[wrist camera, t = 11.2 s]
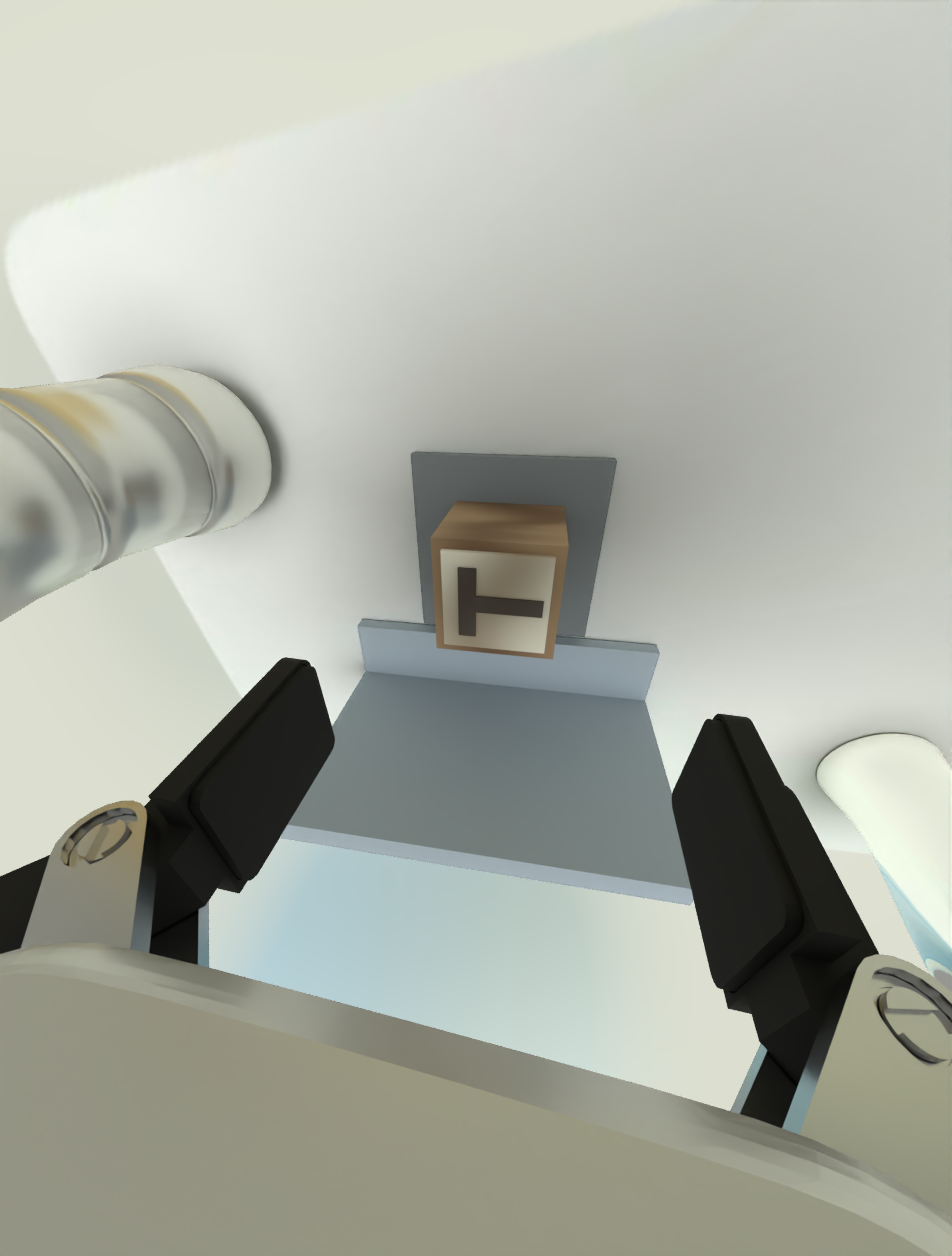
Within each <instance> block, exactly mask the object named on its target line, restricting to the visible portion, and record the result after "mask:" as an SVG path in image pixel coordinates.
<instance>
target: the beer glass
mask: <svg viewBox="0 0 952 1256" xmlns="http://www.w3.org/2000/svg"><path fill="white" fill-rule="evenodd" d="M816 776H817V781H818V784H819V785H820V787H821V788H822V790H823V791H824V792H825V793H826V794H827V796H828V797H829V798H830V799H831V800H832V801H833V802H834V803H835V804H836V805H837V806H838V807H839V808H840V809H841V810H842V811H843V813H844V814H845V815H846V816H847V817H848V818H849V819H850V820H851V822H852V823H853V824H854V825H855V827H856V828H857V830H858V831H859V832H860V834H861V835H862V837H863V838H864V840H865V842H866V843H867V845H868V847H869V848H870V850H871V852H872V854H873V856H874V858H875V860H876V862H877V864H878V866H879V869H880V871H881V873H882V875H883V877H884V880H885V882H886V884H887V886H888V889H889V891H890V893H891V895H892V897H893V900H894V902H895V904H896V906H897V909H898V911H899V913H900V915H901V917H902V920H903V922H904V924H905V926H906V928H907V931H908V933H909V934H910V936H911V938H912V940H913V942H914V944H915V946H916V948H917V950H918V952H919V954H920V956H921V958H922V960H923V962H924V964H925V966H926V968H927V970H928V971H929V973H930V975H931V976H933V977H934V978H935V979H936V980H938V981H939V982H940V983H941V984H942V985H944V986H945V987H946V988H947V989H948V990H950V991H951V992H952V768H951V767H950V765H949V764H948V762H947V761H946V759H945V758H944V756H943V755H942V753H941V752H940V751H939V749H938V748H937V747H936V746H935V745H934V744H932V743H931V742H929V741H927V740H925V739H923V738H920V737H917V736H913V735H908V734H896V733H889V734H878V735H871V736H867V737H863V738H859V739H856V740H853V741H851V742H848V743H846V744H844V745H842V746H840V747H838V748H836V749H835V750H833V751H832V752H831V753H829V754H828V755H827V756H826V757H825V758H824V759H823V760H822V762H821V763H820V765H819V767H818V769H817V775H816Z"/></svg>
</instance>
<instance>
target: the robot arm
mask: <svg viewBox="0 0 952 1256" xmlns="http://www.w3.org/2000/svg"><path fill="white" fill-rule="evenodd" d="M334 744H335V736H334V733H333V729H332V725H331V722H330V718H329V715H328V711H327V708H326V704H325V701H324V697H323V694H322V690H321V687H320V683H319V680H318V676H317V673H316V670H315V668H314V667H311V665H310V663H309V662H308V661H307V660H301V659H293V658H286V657H285V658H282V659H281V660H279V661H278V662H277V663H276V664H275V665H274V666H273V667H272V669H271V670H270V671H269V672H268V673H267V674H266V675H265V676H264V677H263V678H262V679H261V680H260V681H259V682H258V683H257V684H256V685H255V686H254V687H253V688H252V689H251V690H250V691H249V692H248V693H247V694H246V695H245V696H244V698H243V699H242V700H241V701H240V702H239V703H238V704H237V705H236V706H235V707H234V708H233V709H232V710H231V711H230V712H229V713H228V714H227V715H226V716H225V717H224V718H223V719H222V720H221V722H219V723H218V725H217V726H216V727H215V728H214V729H213V730H212V731H211V732H210V733H209V734H208V735H207V736H206V737H205V738H204V739H203V740H202V741H201V742H200V743H199V744H198V745H197V746H196V747H195V748H194V749H193V751H191V752H190V754H189V755H188V756H187V757H186V758H185V759H184V760H183V761H182V762H181V763H180V764H179V765H178V766H177V767H176V768H175V769H174V770H173V771H172V772H171V773H170V775H168V776H167V777H166V778H165V779H164V780H163V782H161V783H160V785H159V786H158V787H157V788H156V789H155V790H154V791H153V792H152V793H151V794H150V795H149V798H150V799H151V800H150V801H149V802H148V803H147V804H146V805H145V806H143V805H142V804H141V803H138V802H135V801H119V802H115V803H112V804H108V805H105V806H103V807H101V808H99V809H97V810H94V811H93V812H91V813H89V814H88V815H86V816H85V817H83V818H81V819H80V820H79V821H77V822H76V823H75V824H74V825H73V826H71V827H70V828H69V829H68V830H67V831H66V832H65V833H64V834H63V836H62V837H61V838H60V839H59V840H58V842H57V843H56V844H55V846H54V848H53V850H52V852H51V854H50V855H49V856H46V857H44V858H42V859H39V860H37V861H35V862H32V863H30V864H28V865H26V866H23V867H21V868H19V869H17V870H14V871H12V872H10V873H7V874H5V875H3V876H0V1256H952V992H951V991H950V990H948V989H947V988H946V987H945V986H944V985H942V984H941V983H940V982H939V981H938V980H936V979H935V978H934V977H933V976H931V975H929V974H928V973H926V972H924V971H923V970H921V969H920V968H918V967H917V966H915V965H913V964H912V963H909V962H906V961H904V960H901V959H899V958H896V957H894V956H888V955H879V953H878V951H877V949H876V947H875V945H874V943H873V941H872V939H871V937H870V936H869V934H868V932H867V930H866V928H865V926H864V924H863V922H862V920H861V918H860V916H859V914H858V913H857V911H856V909H855V907H854V905H853V903H852V901H851V899H850V897H849V895H848V894H847V892H846V890H845V888H844V886H843V884H842V882H841V880H840V878H839V876H838V874H837V873H836V871H835V869H834V867H833V865H832V863H831V861H830V860H829V857H828V855H827V854H826V852H825V850H824V848H823V846H822V844H821V842H820V840H819V838H818V836H817V834H816V833H815V831H814V829H813V827H812V825H811V823H810V821H809V819H808V817H807V815H806V814H805V812H804V810H803V808H802V806H801V804H800V802H799V800H798V798H797V797H796V796H795V794H794V793H793V791H792V790H790V789H789V788H788V787H787V786H785V785H784V783H783V781H782V779H781V777H780V775H779V773H778V771H777V769H776V768H775V766H774V764H773V762H772V760H771V758H770V756H769V754H768V752H767V750H766V748H765V746H764V744H763V742H762V740H761V738H760V736H759V734H758V732H757V730H756V728H755V726H754V724H753V723H752V721H751V720H750V719H749V718H747V717H740V716H733V715H725V714H717V715H715V717H714V718H713V720H712V719H707V720H706V721H705V722H704V724H703V726H702V729H701V731H700V733H699V735H698V737H697V740H696V742H695V744H694V746H693V748H692V751H691V753H690V755H689V757H688V759H687V761H686V764H685V766H684V768H683V770H682V772H681V775H680V777H679V779H678V781H677V783H676V786H675V788H674V790H673V793H672V809H673V813H674V818H675V822H676V826H677V831H678V835H679V839H680V843H681V848H682V852H683V856H684V861H685V865H686V869H687V873H688V878H689V882H690V886H691V891H692V895H693V899H694V903H695V908H696V912H697V916H698V921H699V925H700V929H701V933H702V938H703V942H704V946H705V951H706V955H707V959H708V963H709V968H710V972H711V975H712V978H713V981H714V983H715V985H716V986H717V987H718V988H720V989H723V990H724V994H725V998H726V1002H727V1007H728V1009H733V1010H737V1011H742V1012H745V1013H749V1014H752V1017H753V1021H754V1024H755V1028H756V1031H757V1034H758V1038H759V1041H760V1043H761V1045H760V1046H759V1049H758V1051H757V1053H756V1056H755V1058H754V1060H753V1062H752V1064H751V1066H750V1069H749V1071H748V1073H747V1075H746V1078H745V1080H744V1082H743V1084H742V1087H741V1089H740V1091H739V1093H738V1095H737V1097H736V1100H735V1102H734V1104H733V1106H732V1109H731V1111H727V1110H724V1109H720V1108H717V1107H714V1106H710V1105H707V1104H704V1103H700V1102H697V1101H693V1100H690V1099H687V1098H683V1097H680V1096H676V1095H673V1094H670V1093H666V1092H663V1091H660V1090H656V1089H653V1088H650V1087H646V1086H643V1085H639V1084H636V1083H632V1082H628V1081H625V1080H621V1079H617V1078H614V1077H610V1076H607V1075H603V1074H599V1073H596V1072H592V1071H588V1070H585V1069H581V1068H577V1067H574V1066H570V1065H567V1064H563V1063H559V1062H556V1061H552V1060H549V1059H545V1058H541V1057H538V1056H534V1055H531V1054H527V1053H523V1052H520V1051H516V1050H512V1049H509V1048H505V1047H502V1046H498V1045H494V1044H491V1043H487V1042H483V1041H480V1040H476V1039H472V1038H469V1037H465V1036H461V1035H457V1034H453V1033H450V1032H446V1031H443V1030H439V1029H436V1028H432V1027H428V1026H424V1025H421V1024H417V1023H413V1022H410V1021H406V1020H402V1019H399V1018H395V1017H391V1016H388V1015H383V1014H380V1013H376V1012H373V1011H369V1010H365V1009H362V1008H358V1007H354V1006H351V1005H347V1004H343V1003H340V1002H336V1001H332V1000H328V999H324V998H321V997H317V996H313V995H310V994H306V993H302V992H298V991H294V990H291V989H287V988H283V987H279V986H275V985H272V984H268V983H264V982H261V981H257V980H253V979H249V978H246V977H242V976H238V975H234V974H230V973H227V972H223V971H219V970H216V969H212V968H209V899H210V898H211V896H212V895H213V893H214V892H215V890H216V889H217V888H218V889H223V890H227V891H231V892H235V893H240V892H241V890H242V889H243V887H244V885H245V884H246V882H247V881H248V880H252V879H253V878H254V877H255V876H256V875H257V874H258V872H259V871H260V869H261V868H262V866H263V864H264V863H265V861H266V859H267V858H268V856H269V854H270V853H271V851H272V850H273V848H274V846H275V844H276V843H277V841H278V840H279V838H280V836H281V835H282V833H283V831H284V830H285V828H286V826H287V825H288V823H289V821H290V820H291V818H292V816H293V815H294V813H295V812H296V810H297V808H298V807H299V805H300V803H301V802H302V800H303V798H304V797H305V795H306V793H307V792H308V790H309V788H310V787H311V785H312V783H313V782H314V780H315V779H316V777H317V775H318V774H319V772H320V770H321V769H322V767H323V765H324V764H325V762H326V760H327V759H328V757H329V755H330V754H331V752H332V750H333V748H334Z"/></svg>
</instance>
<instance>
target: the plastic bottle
mask: <svg viewBox="0 0 952 1256" xmlns="http://www.w3.org/2000/svg"><path fill="white" fill-rule="evenodd" d="M271 472H272V462H271V455H270V449H269V446H268V443H267V439H266V437H265V435H264V433H263V431H262V428H261V426H260V425H259V423H258V422H257V420H256V419H255V417H254V415H253V414H252V413H251V412H250V411H249V409H248V408H247V407H246V406H245V405H244V404H243V402H242V401H241V400H240V399H239V398H238V397H237V396H236V395H235V394H234V393H232V392H231V391H230V390H229V389H228V388H227V387H225V386H224V385H222V384H221V383H219V382H217V381H216V380H214V379H212V378H210V377H207V376H205V375H202V374H199V373H196V372H192V371H188V370H184V369H180V368H176V367H171V366H165V365H151V366H143V367H138V368H132V369H126V370H120V371H116V372H113V373H110V374H107V375H103V376H101V377H99V378H97V379H91V380H83V381H74V382H65V383H57V384H48V385H39V386H31V387H22V388H13V389H11V388H0V622H1V621H3V620H4V619H6V618H8V617H9V616H11V615H12V614H14V613H16V612H17V611H19V610H21V609H22V608H24V607H25V606H27V605H29V604H30V603H32V602H34V601H35V600H37V599H39V598H41V597H43V596H45V595H47V594H49V593H51V592H53V591H55V590H57V589H59V588H61V587H63V586H65V585H67V584H69V583H71V582H73V581H75V580H77V579H79V578H81V577H83V576H84V575H86V574H87V573H89V572H90V571H93V570H97V569H99V568H101V567H103V566H105V565H107V564H109V563H111V562H113V561H115V560H117V559H119V558H121V557H124V556H127V555H130V554H133V553H136V552H139V551H142V550H145V549H148V548H151V547H155V546H158V545H161V544H164V543H167V542H170V541H173V540H176V539H179V538H182V537H191V536H198V535H203V534H207V533H211V532H214V531H218V530H222V529H225V528H229V527H232V526H235V525H237V524H238V523H240V522H241V521H243V520H244V519H245V518H247V517H248V516H249V515H250V514H251V513H252V512H254V511H255V510H256V509H257V508H258V507H259V506H260V505H261V504H262V502H263V501H264V499H265V497H266V496H267V494H268V491H269V487H270V483H271Z"/></svg>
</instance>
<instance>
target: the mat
mask: <svg viewBox="0 0 952 1256" xmlns="http://www.w3.org/2000/svg"><path fill="white" fill-rule="evenodd" d="M616 463H617V460H616V459H615V458H590V457H559V456H528V455H497V454H467V453H436V452H413V453H412V454H411V464H412V476H413V489H414V502H415V515H416V528H417V541H418V553H419V566H420V579H421V592H422V605H423V618H424V623H429V624H435V610H434V592H433V574H432V556H431V539H430V538H431V536H432V535H433V533H434V532H435V531H436V529H437V528H438V526H439V525H440V523H441V522H442V521H443V519H444V518H445V516H446V515H447V514H448V512H449V511H450V509H451V508H452V507H453V505H454V504H455V502H456V501H473V502H492V503H512V504H532V505H551V506H564V507H565V516H566V525H567V534H568V543H569V549H568V556H567V563H566V570H565V577H564V584H563V591H562V598H561V606H560V613H559V620H558V627H557V634H556V635H566V636H578V637H585V631H586V626H587V621H588V615H589V610H590V604H591V599H592V593H593V588H594V583H595V577H596V572H597V566H598V561H599V555H600V550H601V544H602V539H603V534H604V528H605V523H606V517H607V512H608V506H609V501H610V496H611V490H612V485H613V479H614V474H615V468H616Z"/></svg>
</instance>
